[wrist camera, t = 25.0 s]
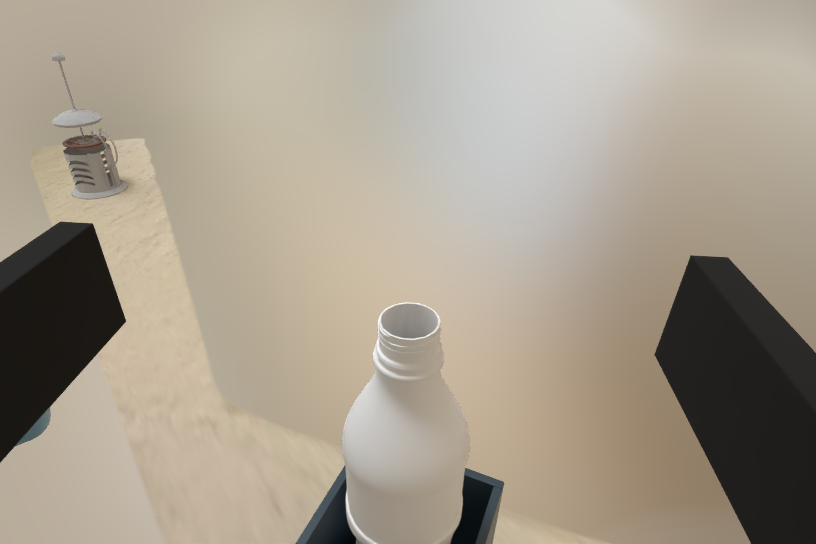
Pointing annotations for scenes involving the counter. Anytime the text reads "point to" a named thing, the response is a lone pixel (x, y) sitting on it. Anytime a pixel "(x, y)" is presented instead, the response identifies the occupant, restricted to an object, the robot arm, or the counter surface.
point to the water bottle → (405, 438)
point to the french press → (91, 166)
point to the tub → (472, 540)
